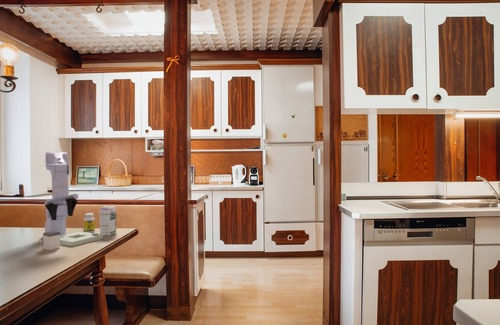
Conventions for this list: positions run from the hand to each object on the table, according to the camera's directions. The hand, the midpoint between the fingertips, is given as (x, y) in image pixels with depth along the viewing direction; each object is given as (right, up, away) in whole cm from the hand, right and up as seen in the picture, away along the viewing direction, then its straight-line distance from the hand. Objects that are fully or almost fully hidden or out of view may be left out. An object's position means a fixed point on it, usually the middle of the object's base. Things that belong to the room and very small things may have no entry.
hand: (62, 217), depth 138 cm
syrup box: (+9, -13, +25) cm, 30 cm away
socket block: (0, -13, +12) cm, 17 cm away
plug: (-3, -13, -2) cm, 13 cm away
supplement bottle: (-3, -13, +30) cm, 33 cm away
